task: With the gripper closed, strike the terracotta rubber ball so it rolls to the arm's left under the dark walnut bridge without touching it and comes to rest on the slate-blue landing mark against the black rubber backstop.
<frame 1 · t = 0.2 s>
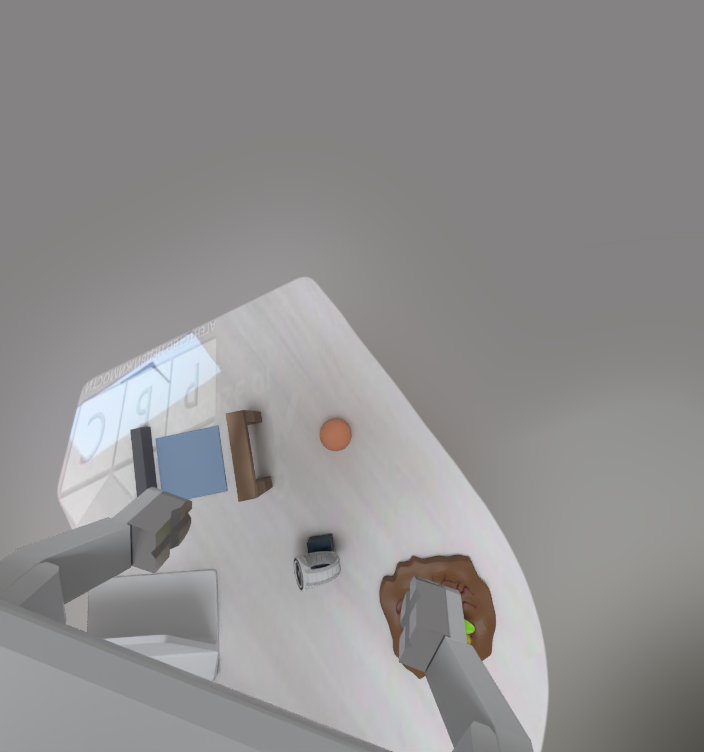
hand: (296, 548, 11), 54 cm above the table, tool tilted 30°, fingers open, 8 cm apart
tablet stand: (155, 623, 62), on the table
plant: (437, 607, 61), on the table
ball: (335, 434, 62), on the table
bridge: (259, 450, 65), on the table
watch: (322, 550, 62), on the table
landing mark: (191, 464, 66), on the table
stopper: (150, 472, 66), on the table
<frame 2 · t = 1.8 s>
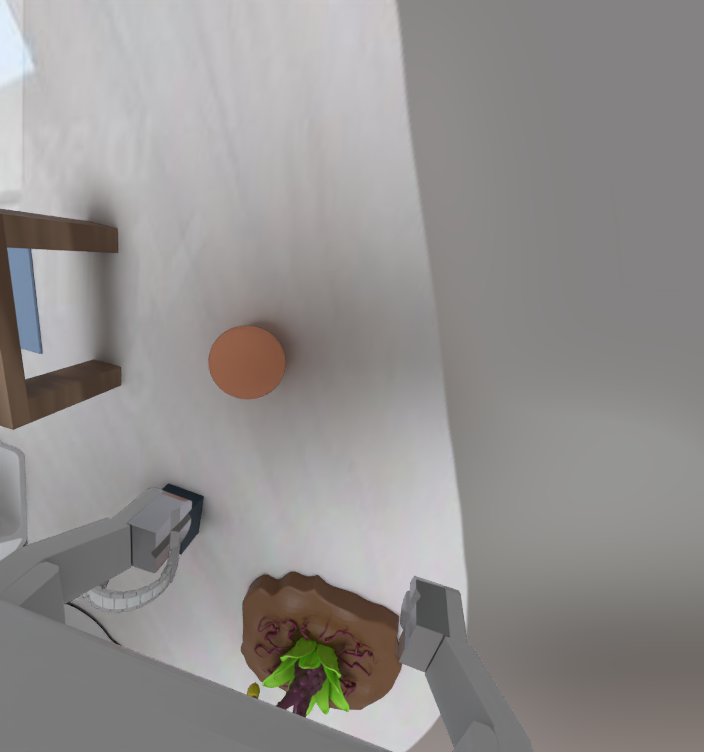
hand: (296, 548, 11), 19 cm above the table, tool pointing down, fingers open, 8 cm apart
plant: (322, 631, 41), on the table
ball: (248, 362, 27), on the table
bridge: (105, 309, 31), on the table
watch: (184, 507, 38), on the table
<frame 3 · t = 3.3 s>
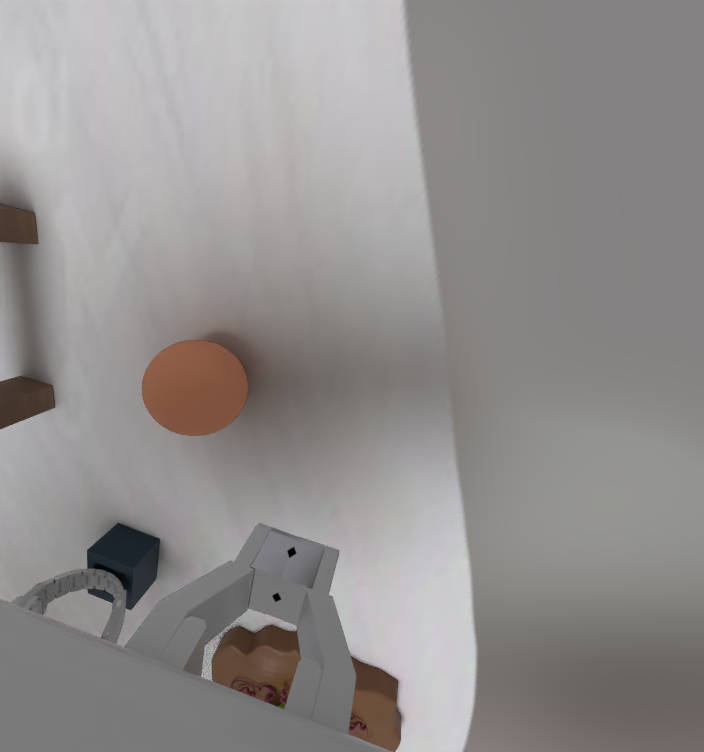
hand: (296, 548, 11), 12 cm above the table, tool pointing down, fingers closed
plant: (307, 690, 35), on the table
ball: (198, 387, 21), on the table
bridge: (28, 315, 25), on the table
watch: (138, 550, 32), on the table
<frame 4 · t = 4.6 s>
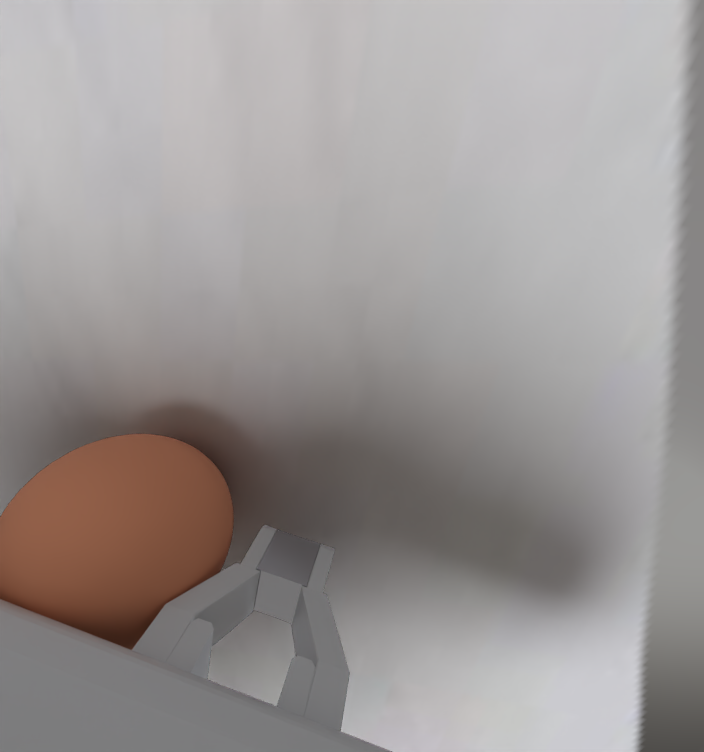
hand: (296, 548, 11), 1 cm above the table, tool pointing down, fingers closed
ball: (129, 532, 10), on the table, touching gripper
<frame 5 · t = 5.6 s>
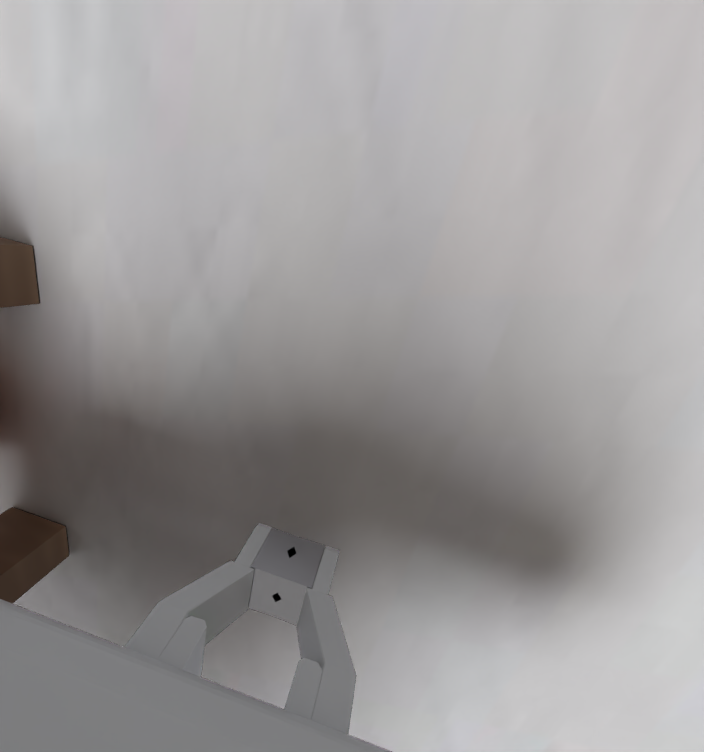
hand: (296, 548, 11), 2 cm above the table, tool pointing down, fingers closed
bridge: (23, 420, 14), on the table
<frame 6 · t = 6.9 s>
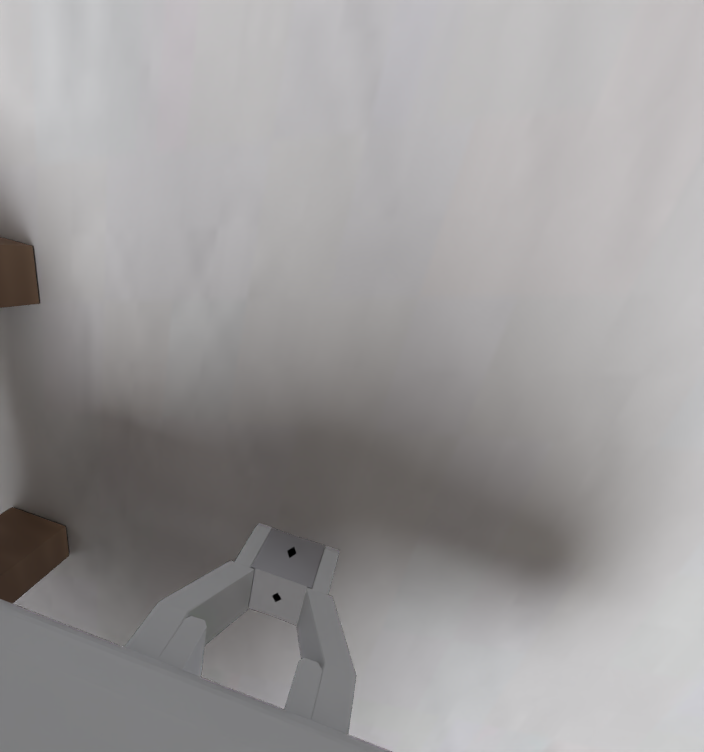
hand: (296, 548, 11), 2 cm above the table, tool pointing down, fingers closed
bridge: (23, 420, 14), on the table
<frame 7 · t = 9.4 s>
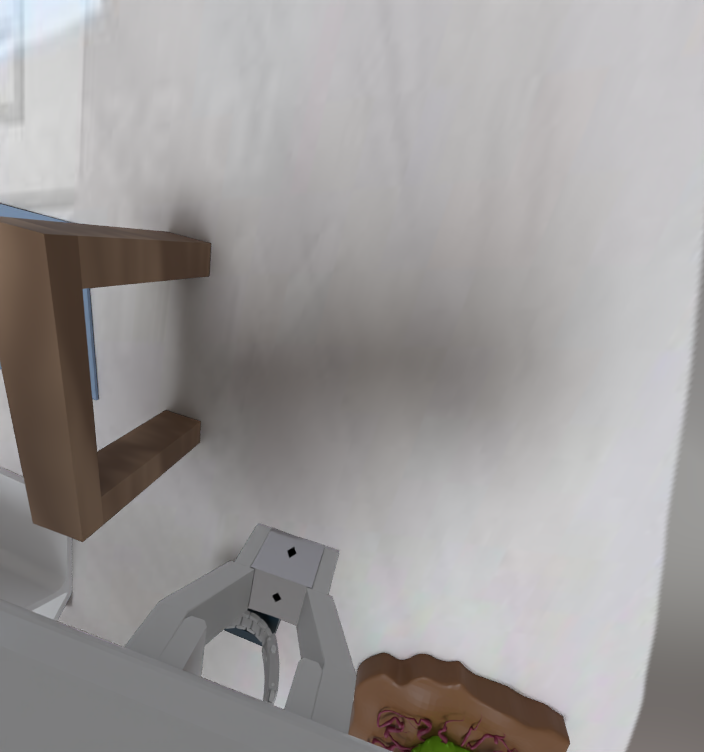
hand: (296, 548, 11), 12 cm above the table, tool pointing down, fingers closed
plant: (446, 717, 33), on the table
bridge: (185, 349, 23), on the table
watch: (267, 584, 30), on the table
landing mark: (15, 298, 24), on the table
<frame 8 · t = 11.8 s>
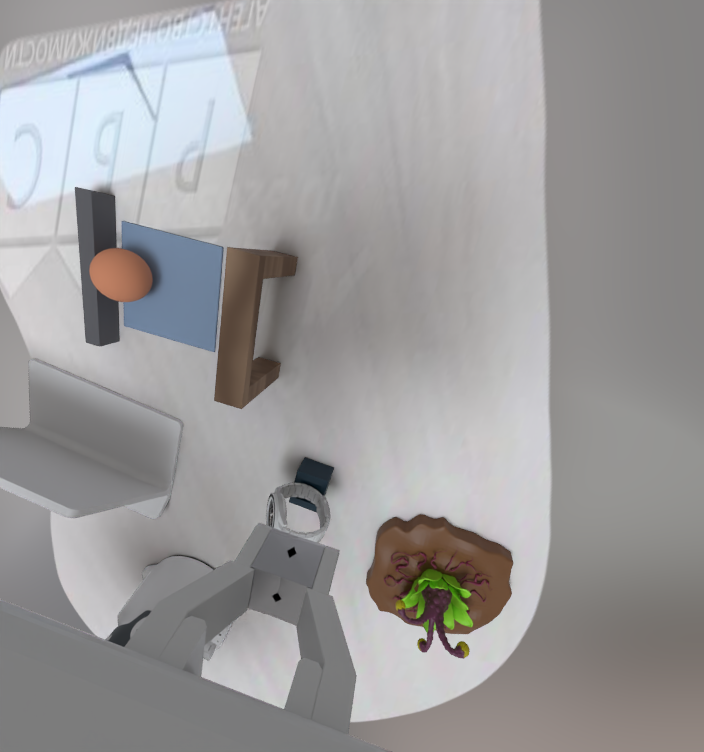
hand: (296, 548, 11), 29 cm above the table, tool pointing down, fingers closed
tablet stand: (106, 436, 51), on the table
plant: (436, 568, 49), on the table
ball: (122, 275, 38), on the table
bridge: (275, 318, 40), on the table
watch: (314, 476, 47), on the table
landing mark: (170, 289, 41), on the table
stopper: (110, 272, 41), on the table
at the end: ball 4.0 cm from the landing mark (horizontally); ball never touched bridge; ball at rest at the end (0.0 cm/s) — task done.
